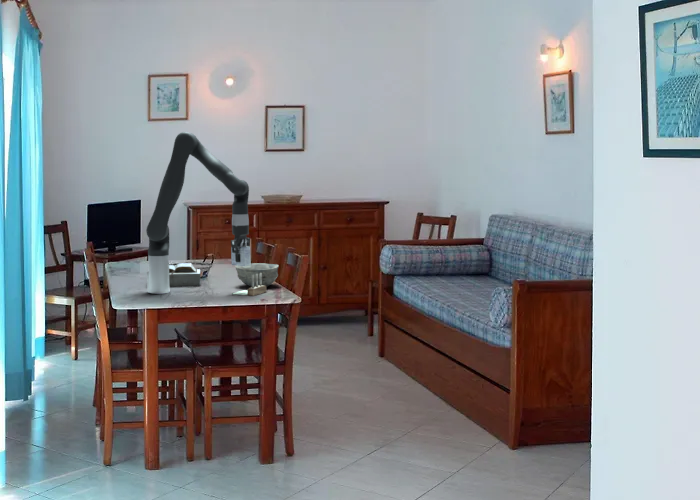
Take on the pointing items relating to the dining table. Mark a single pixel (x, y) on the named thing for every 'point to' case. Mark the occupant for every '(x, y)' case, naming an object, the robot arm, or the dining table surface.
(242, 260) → the medicine box
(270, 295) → the dining table surface
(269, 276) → the bowl
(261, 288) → the pin strip
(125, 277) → the dining table surface
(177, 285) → the grey rectangular bin
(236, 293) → the pad
